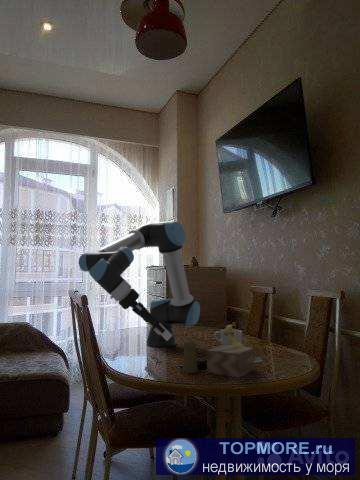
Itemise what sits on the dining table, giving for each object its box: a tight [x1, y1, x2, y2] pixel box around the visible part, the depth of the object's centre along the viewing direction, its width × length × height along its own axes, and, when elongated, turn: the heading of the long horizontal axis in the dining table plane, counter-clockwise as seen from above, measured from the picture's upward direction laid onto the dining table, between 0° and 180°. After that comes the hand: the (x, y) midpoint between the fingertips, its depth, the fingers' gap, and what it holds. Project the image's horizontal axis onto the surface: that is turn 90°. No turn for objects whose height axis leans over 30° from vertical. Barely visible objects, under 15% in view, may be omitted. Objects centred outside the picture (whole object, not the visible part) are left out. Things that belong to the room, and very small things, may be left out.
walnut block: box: [206, 344, 255, 378], centre depth 136 cm, size 13×13×8 cm
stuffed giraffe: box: [224, 321, 264, 363], centre depth 157 cm, size 16×18×16 cm
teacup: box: [213, 328, 243, 345], centre depth 182 cm, size 14×11×8 cm
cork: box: [181, 340, 199, 374], centre depth 137 cm, size 6×6×11 cm
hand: (165, 335), depth 135 cm, fingers open, 13 cm apart
